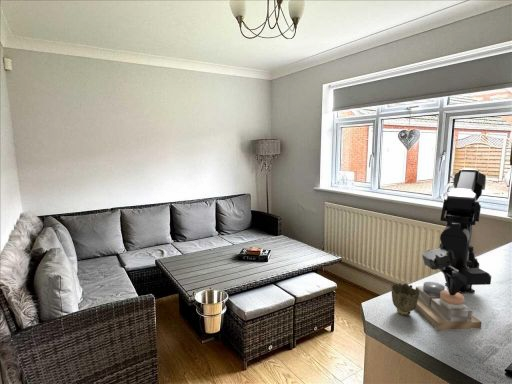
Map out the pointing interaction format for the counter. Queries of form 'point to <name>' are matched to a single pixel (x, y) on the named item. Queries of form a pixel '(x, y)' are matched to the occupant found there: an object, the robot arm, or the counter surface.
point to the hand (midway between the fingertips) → (452, 294)
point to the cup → (404, 298)
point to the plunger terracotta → (451, 300)
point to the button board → (445, 313)
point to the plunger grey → (433, 288)
